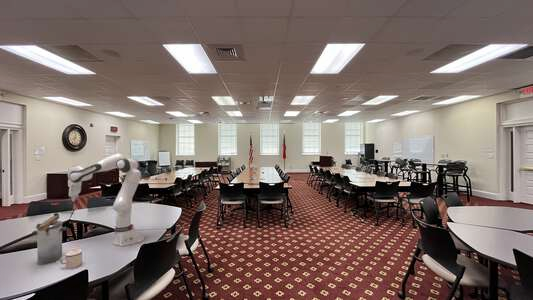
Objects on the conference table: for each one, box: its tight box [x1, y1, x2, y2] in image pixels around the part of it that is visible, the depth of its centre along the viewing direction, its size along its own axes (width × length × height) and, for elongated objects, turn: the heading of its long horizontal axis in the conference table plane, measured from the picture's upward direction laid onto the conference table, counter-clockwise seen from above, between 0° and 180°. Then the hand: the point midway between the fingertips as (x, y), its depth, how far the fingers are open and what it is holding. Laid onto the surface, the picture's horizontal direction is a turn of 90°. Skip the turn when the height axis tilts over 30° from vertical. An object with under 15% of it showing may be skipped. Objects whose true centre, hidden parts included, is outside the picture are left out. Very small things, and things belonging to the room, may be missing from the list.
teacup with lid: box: [59, 247, 83, 269], centre depth 158 cm, size 12×9×12 cm
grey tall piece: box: [31, 219, 67, 266], centre depth 166 cm, size 18×14×28 cm
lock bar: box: [39, 212, 60, 231], centre depth 166 cm, size 3×28×5 cm, turn 27°
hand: (75, 200), depth 201 cm, fingers open, 8 cm apart
